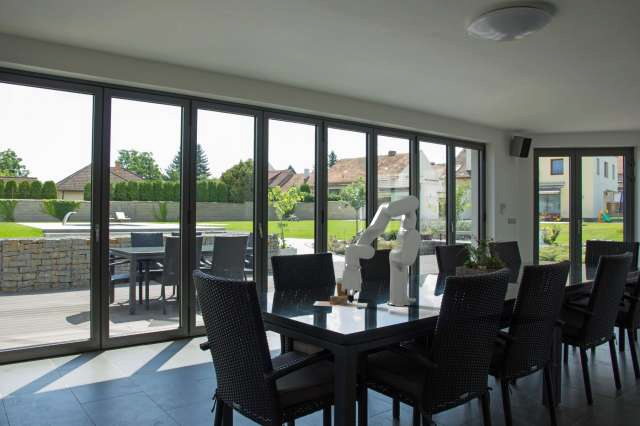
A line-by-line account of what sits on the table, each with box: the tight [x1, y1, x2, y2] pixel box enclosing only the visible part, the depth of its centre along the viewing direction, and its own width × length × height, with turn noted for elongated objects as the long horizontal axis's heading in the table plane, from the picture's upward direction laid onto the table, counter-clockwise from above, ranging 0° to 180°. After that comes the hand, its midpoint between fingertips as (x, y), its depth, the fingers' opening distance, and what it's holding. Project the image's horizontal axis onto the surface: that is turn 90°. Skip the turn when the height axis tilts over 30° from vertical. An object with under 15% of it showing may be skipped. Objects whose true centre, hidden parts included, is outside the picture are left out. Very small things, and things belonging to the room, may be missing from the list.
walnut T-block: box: [329, 295, 348, 307], centre depth 260 cm, size 9×9×4 cm
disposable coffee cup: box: [335, 277, 348, 300], centre depth 279 cm, size 10×10×12 cm
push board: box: [313, 300, 368, 308], centre depth 260 cm, size 28×12×1 cm, turn 83°
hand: (350, 302), depth 259 cm, fingers closed
